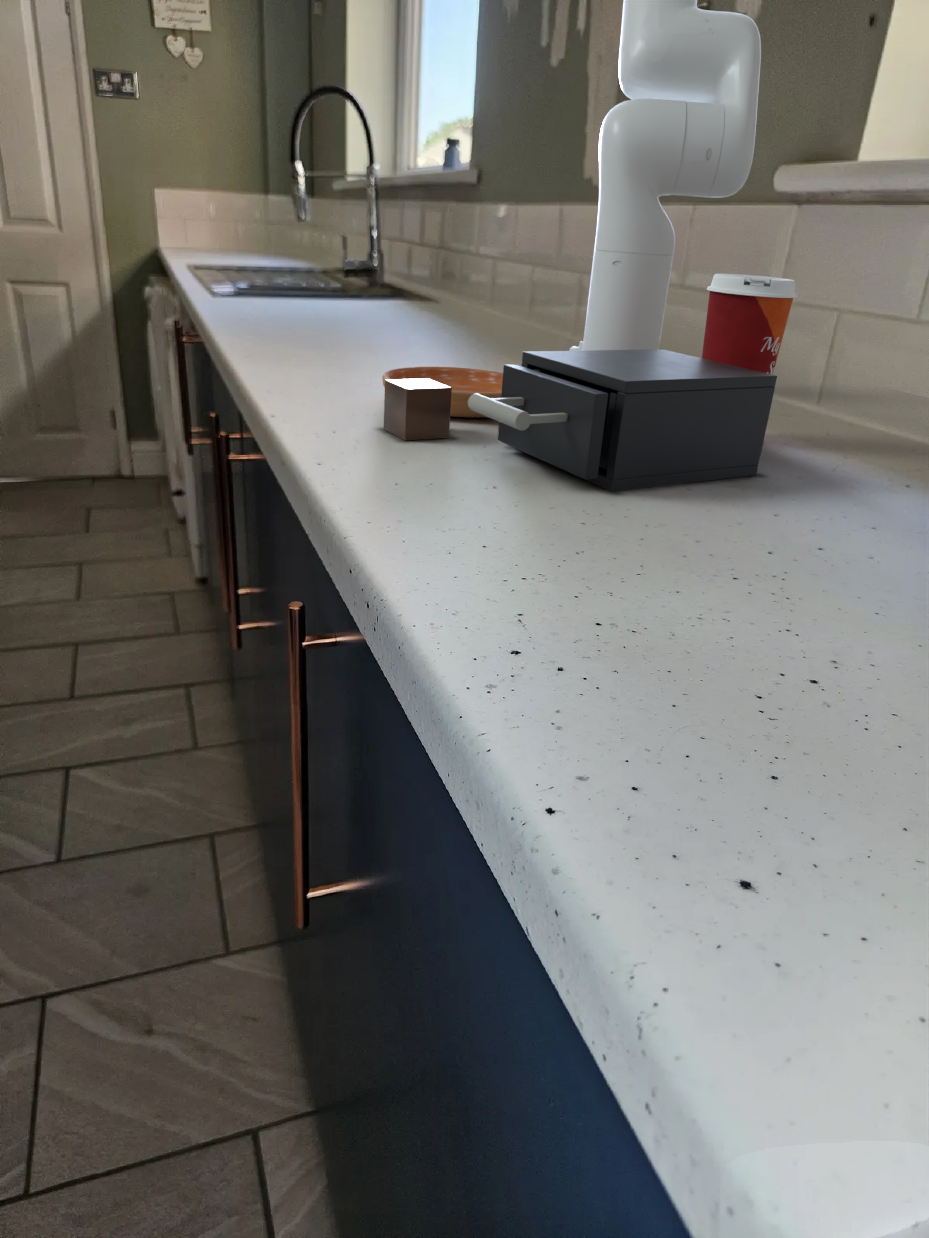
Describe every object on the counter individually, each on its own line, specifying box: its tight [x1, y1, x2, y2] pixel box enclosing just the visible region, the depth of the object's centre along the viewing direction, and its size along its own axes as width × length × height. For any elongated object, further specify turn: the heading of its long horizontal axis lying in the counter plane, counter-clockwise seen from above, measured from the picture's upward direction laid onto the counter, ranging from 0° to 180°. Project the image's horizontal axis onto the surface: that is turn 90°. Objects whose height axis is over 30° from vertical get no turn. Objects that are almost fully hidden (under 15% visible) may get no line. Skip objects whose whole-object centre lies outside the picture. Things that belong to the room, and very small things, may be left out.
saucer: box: [381, 366, 503, 418], centre depth 92 cm, size 16×16×3 cm
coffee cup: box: [701, 273, 798, 375], centre depth 84 cm, size 8×8×15 cm
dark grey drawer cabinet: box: [514, 348, 778, 492], centre depth 74 cm, size 16×14×8 cm
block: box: [383, 379, 452, 442], centre depth 79 cm, size 4×4×4 cm
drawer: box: [468, 364, 619, 481], centre depth 71 cm, size 20×13×6 cm, turn 120°
